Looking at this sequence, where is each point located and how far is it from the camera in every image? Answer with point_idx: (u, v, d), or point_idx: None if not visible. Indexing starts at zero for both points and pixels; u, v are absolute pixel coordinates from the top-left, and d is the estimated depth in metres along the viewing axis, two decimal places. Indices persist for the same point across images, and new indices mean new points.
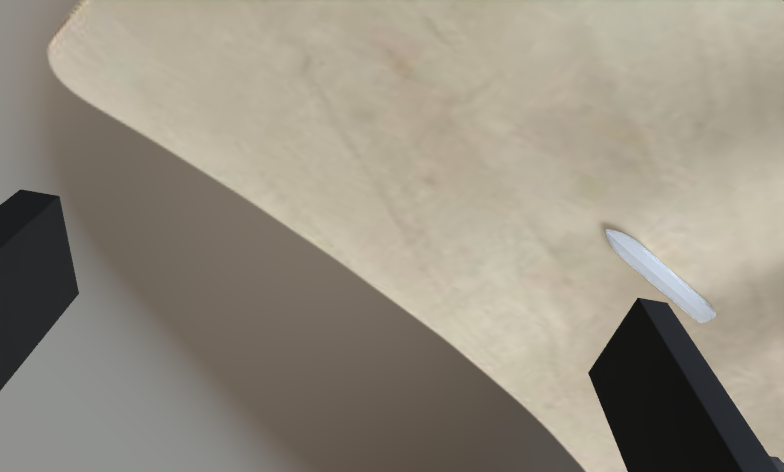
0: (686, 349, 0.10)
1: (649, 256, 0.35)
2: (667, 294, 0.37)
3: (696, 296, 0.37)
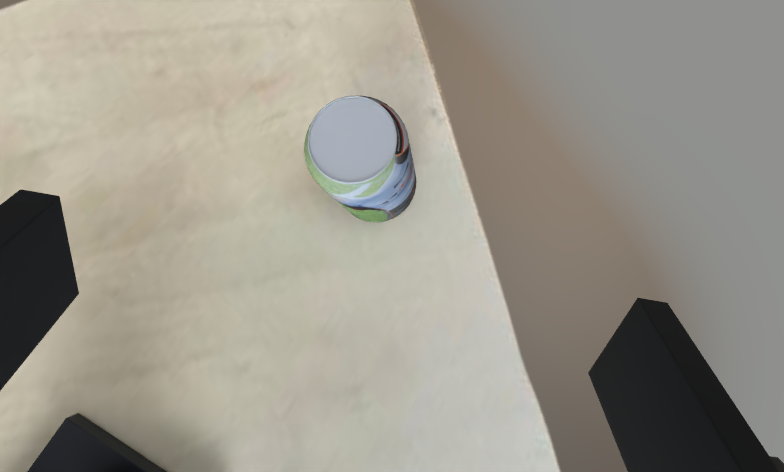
0: (685, 349, 0.10)
1: None
2: None
3: None
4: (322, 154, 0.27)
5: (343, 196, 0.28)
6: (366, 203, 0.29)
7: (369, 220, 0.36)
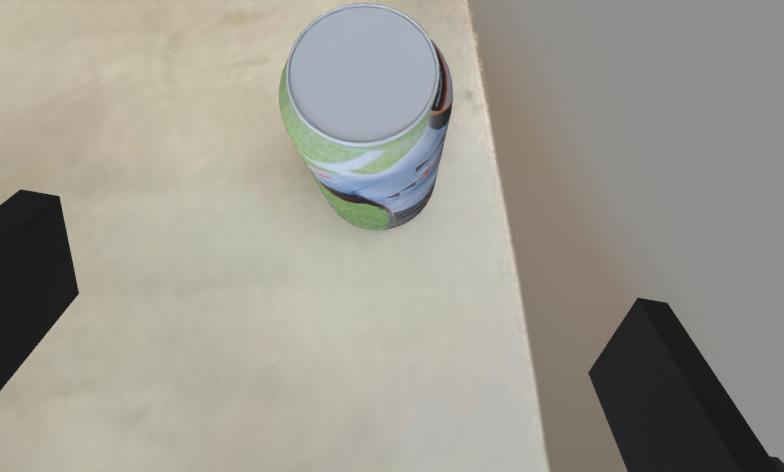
0: (685, 349, 0.10)
1: None
2: None
3: None
4: (308, 89, 0.16)
5: (332, 168, 0.16)
6: (366, 189, 0.18)
7: (361, 225, 0.25)
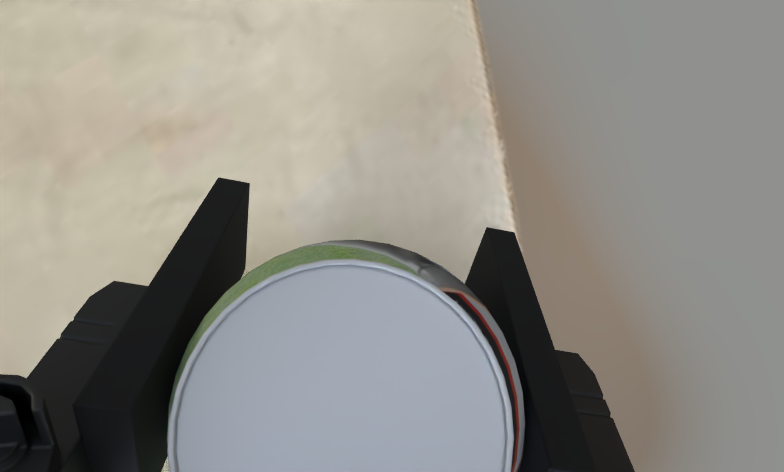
0: (514, 265, 0.11)
1: None
2: None
3: None
4: (219, 471, 0.07)
5: None
6: None
7: None
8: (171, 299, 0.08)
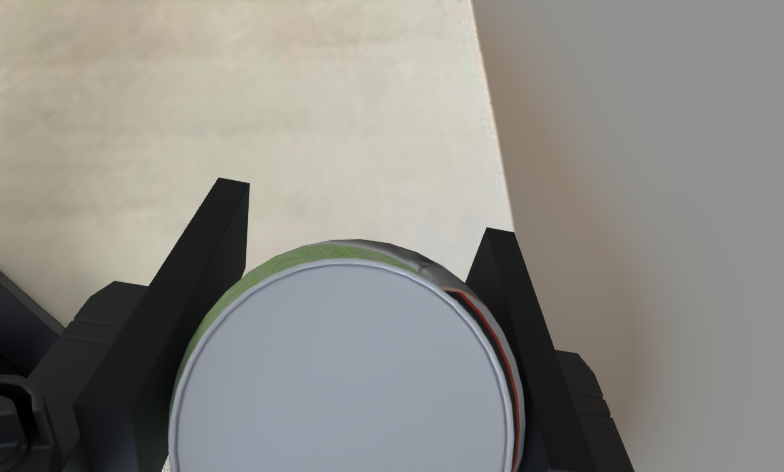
0: (514, 265, 0.11)
1: None
2: None
3: None
4: (220, 470, 0.07)
5: None
6: None
7: None
8: (171, 299, 0.08)
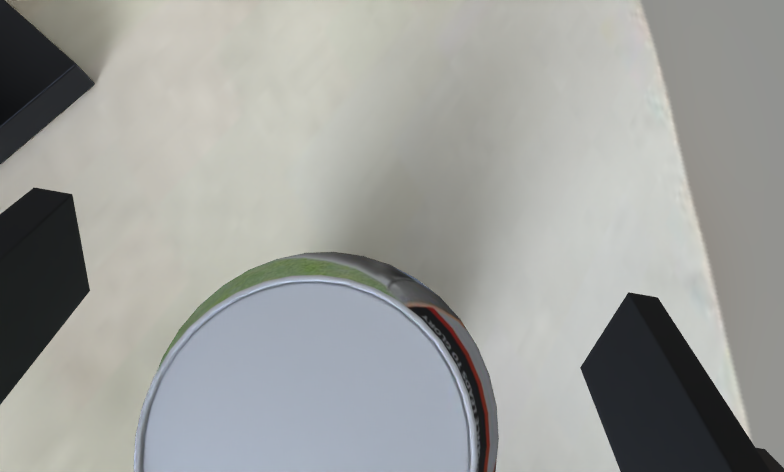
0: (675, 342, 0.10)
1: None
2: None
3: None
4: None
5: None
6: None
7: None
8: None
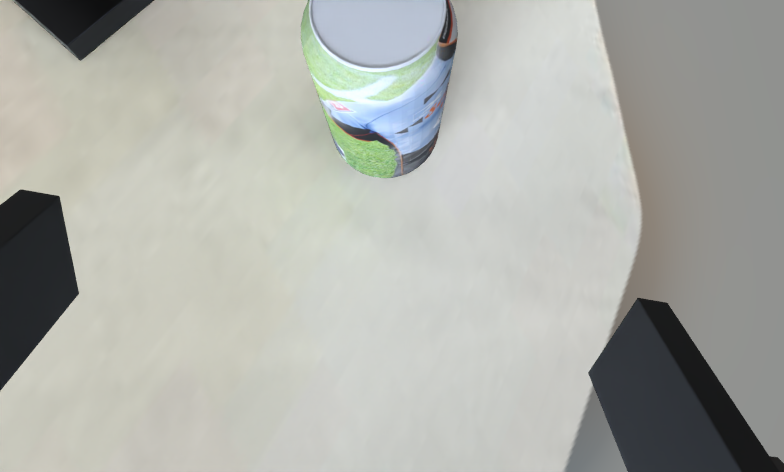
0: (686, 349, 0.10)
1: None
2: None
3: None
4: (329, 21, 0.17)
5: (349, 95, 0.18)
6: (379, 121, 0.20)
7: (369, 172, 0.27)
8: None
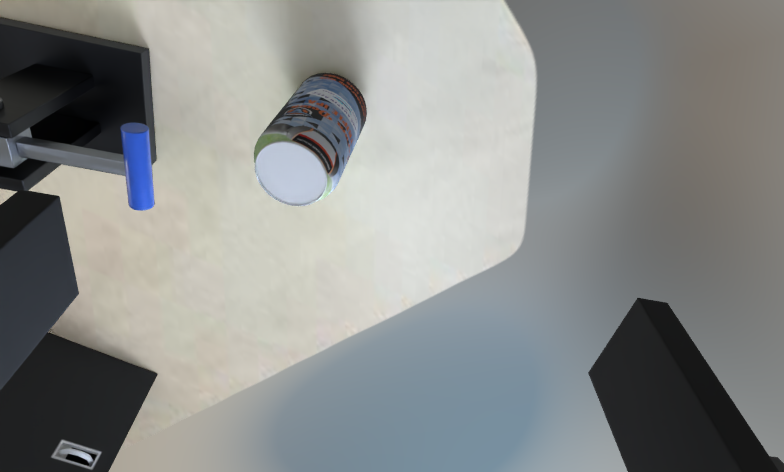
0: (685, 349, 0.10)
1: None
2: None
3: None
4: (276, 190, 0.33)
5: None
6: None
7: None
8: None
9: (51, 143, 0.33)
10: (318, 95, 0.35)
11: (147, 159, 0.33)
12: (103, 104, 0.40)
